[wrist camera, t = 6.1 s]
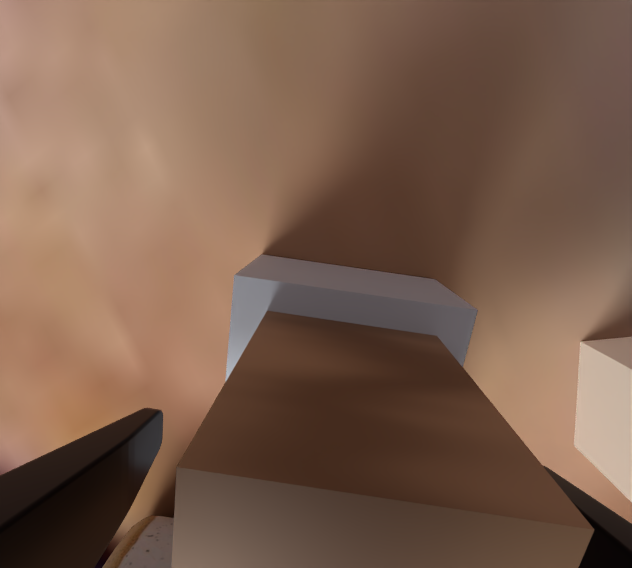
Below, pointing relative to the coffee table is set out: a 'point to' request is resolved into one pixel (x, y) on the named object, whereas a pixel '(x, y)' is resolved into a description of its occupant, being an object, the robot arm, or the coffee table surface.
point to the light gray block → (345, 301)
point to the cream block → (606, 409)
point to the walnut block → (363, 462)
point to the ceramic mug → (145, 545)
